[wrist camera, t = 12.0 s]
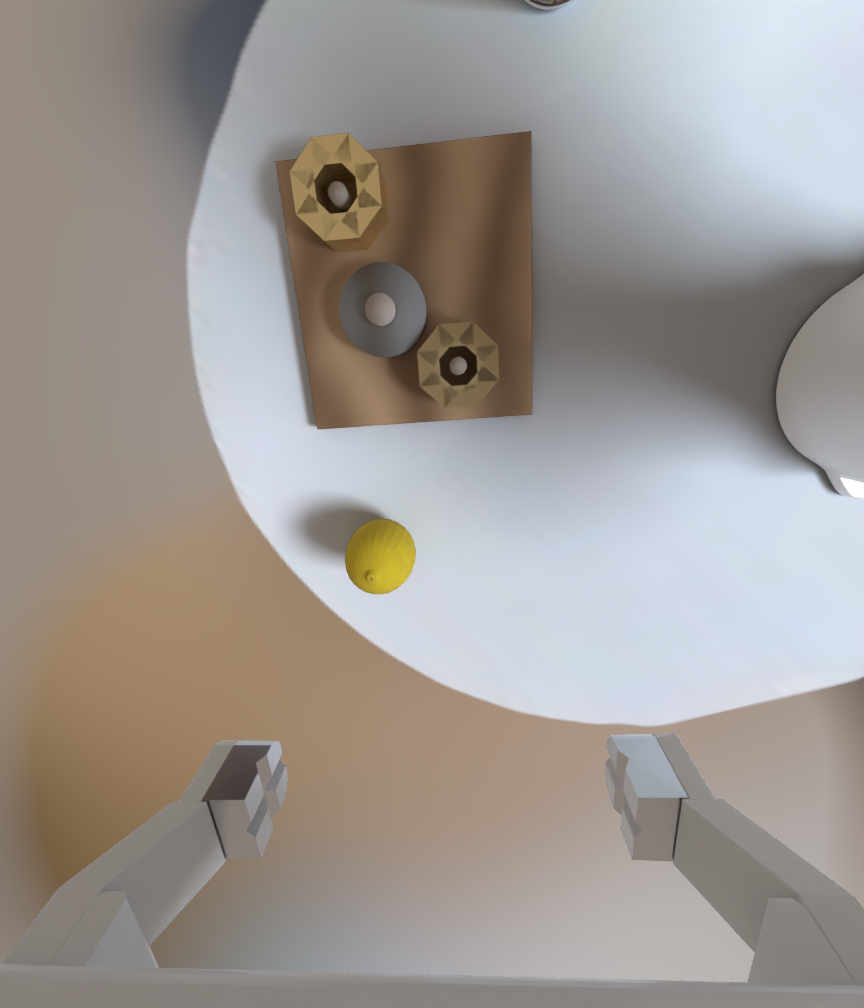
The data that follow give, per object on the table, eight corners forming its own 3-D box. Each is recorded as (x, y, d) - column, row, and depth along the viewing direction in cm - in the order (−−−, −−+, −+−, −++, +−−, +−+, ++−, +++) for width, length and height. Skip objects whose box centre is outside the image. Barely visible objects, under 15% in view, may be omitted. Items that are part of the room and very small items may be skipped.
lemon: (347, 519, 38) (320, 558, 30) (405, 498, 37) (391, 532, 30) (373, 572, 40) (353, 621, 32) (428, 552, 39) (422, 599, 31)
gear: (382, 153, 28) (374, 129, 26) (391, 247, 30) (384, 235, 27) (302, 162, 29) (285, 139, 26) (314, 254, 31) (300, 243, 28)
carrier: (528, 140, 29) (539, 104, 25) (529, 412, 34) (539, 419, 30) (282, 169, 30) (255, 139, 26) (321, 427, 36) (304, 435, 32)
